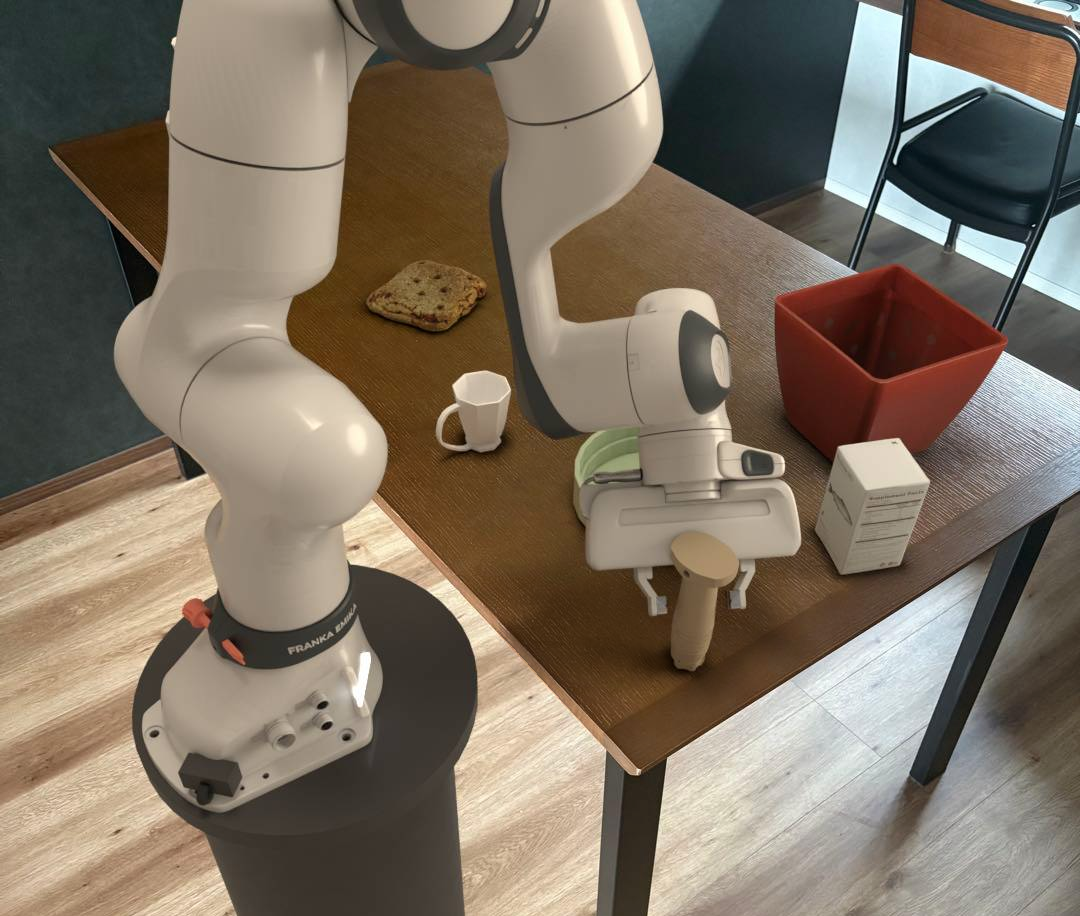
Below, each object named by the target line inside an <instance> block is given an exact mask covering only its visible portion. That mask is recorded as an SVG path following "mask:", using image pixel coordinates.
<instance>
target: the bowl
mask: <svg viewBox="0 0 1080 916" xmlns="http://www.w3.org/2000/svg"><path fill="white" fill-rule="evenodd" d="M638 428H639V427H633V428H624V429H615V430H606V431H598V432H593V433H592V434H590V436H589V437H588V438H587V439H586V440H585V442H584V443H582V444H581V446H580V448H579V450H578V452H577V455H576V457H575V459H574V470H573V471H574V472H573V473H574V474H573V489H572V490H573V493H572V494H573V495H572V504H573V506H574V507H573V508H574V509H575V512H576V515H577V518H578V519H579V521H580V522H581V523H582V524H583V525H584V527H585V528H586V521H587V519H586V518H585V517H584V516H583V514H582V512H581V510H580V501H579V490H580V487H581V485H582V483H583V482H584V481H585V480H586V479H588V478H590V477H593V475H594V473H597V472H617V471H622V470H634V469H640V466H639V451H638V438H637V433H638ZM640 481H641V480H640ZM609 483H620V482H609ZM591 484H596V483H594V481H592V482H590V483H588V484H587V485H591Z"/></svg>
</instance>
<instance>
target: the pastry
mask: <svg viewBox="0 0 1080 916" xmlns="http://www.w3.org/2000/svg"><path fill="white" fill-rule="evenodd" d="M487 286H488V285H487V282H485V281H484V280H483V279H482V278H480V277H479V276H477V275H476V274H474V273H473V274H472V273H471V272H468V271H467V270H464V269H463V268H460V267H457V266H452V265H446V264H443V263H439V262H437V261H433V260H425V259H423V260H417V261H415V262H412V263H410V264H408V265H407V266H406V267H405V268H403V269H402V270H401V271H399V272H398V273H396V275H395V276H394V277H392V278H391V279H390V280H389V281H388V282H387V283H383V285H382V286H380V287H379V288H377V289H376V290H374V291H372V292H371V293H370V294H369V295H368V296H367V299H366V301H365V304H366V306H367V308H368V310H370V311H371V312H372V313H375V314H378V315H380V316H382V317H384V318H386V319H389V320H391V321H392V322H393V321H394V322H399V323H401V324H407V325H408V324H409V325H411V326H413V327H419V329H422V330H425V331H427V332H428V331H429V332H443V331H446V330H448V329H450V328H451V327H452V326H453V325H454V324H455V323H457V322H458V320H459V319H460V318H461V317H464V316H466V315H468V314H469V313H470V312H471V310H472V308H474V307H475V306H476V305H477V300H476V299H477V298H482V297H484V296H485V295H486V288H487Z"/></svg>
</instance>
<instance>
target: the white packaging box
mask: <svg viewBox="0 0 1080 916" xmlns="http://www.w3.org/2000/svg"><path fill="white" fill-rule="evenodd" d="M930 485H931V480H930V479H929V477H928V476H927V475H926V474H925V472H924V471H923V469H922V468H921V466H920V465H919V463H918V462H917V461H916V459H915V458H914V457H913V454H912V455H911V454H910V453H909V451H908V450H907V448H906V447H905V446H904V444H903V443H902V441H901V440H900V438H894V439H885V440H878V441H871V442H864V443H857V444H850V445H843V446H839V447H838V448H837V452H836V456H835V459H834V463H833V462H832V467H831V470H830V474H829V477H828V481H827V485H826V489H825V492H824V495H823V499H822V503H821V506H820V510H819V513H818V517H817V520H816V524H815V527H814V531H815V533H816V535H817V537H818V538H819V539H820V541H821V542H822V544H823V546H824V548H825V550H826V551H827V553H828V555H829V556H830V558H831V560H832V562H833V564H834V566H835V567H836V570H837V571H838V574H839V575H850V574H856V573H862V572H869V571H870V572H871V571H875V570H882V569H887V568H895V567H899V566H900V565H901V563H902V561H903V558H904V554H905V552H906V550H907V547H908V544H909V541H910V539H911V537H912V533H913V530H914V528H915V525H916V523H917V520H918V517H919V514H920V511H921V509H922V506H923V503H924V500H925V499H926V496H927V492H928V490H929V487H930Z"/></svg>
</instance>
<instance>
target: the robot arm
mask: <svg viewBox="0 0 1080 916" xmlns="http://www.w3.org/2000/svg"><path fill="white" fill-rule="evenodd" d="M178 19H179V20H178V25H177V31H176V36H177V37H176V36H175V37H176V43H175V50H174V49H173V50H174V52H173V59H172V68H171V80H170V92H169V93H170V94H169V95H170V96H169V110H170V113H169V135H168V192H167V193H168V194H167V195H168V196H167V199H168V200H167V234H166V242H165V250H164V255H163V261H162V264H161V268H160V272H159V276H158V278H157V283H156V284H155V287H154V289H153V292H152V295H151V296H149V297H148V298H145V299H144V300H142V301H141V302H139V303H138V304H137V305H136V306H135V307H134V308H133V309H132V310H131V311H130V312H129V314H128V315H127V316H126V317H125V318H124V320H123V321H122V323H121V325H120V327H119V329H118V332H117V335H116V338H115V340H114V341H115V342H114V345H113V346H114V347H113V362H114V366H115V367H114V368H115V371H116V373H117V375H118V377H119V379H120V381H121V382H122V384H123V386H124V388H125V389H126V390H127V392H128V394H129V396H130V397H131V398H132V400H133V401H134V403H135V405H136V406H137V407H138V408H139V410H140V411H141V413H142V414H143V416H144V417H145V418H146V419H147V420H148V421H149V422H150V423H151V424H152V425H154V426H155V427H156V428H157V429H159V430H160V431H161V432H162V433H163V434H165V435H166V436H167V437H168V438H169V439H171V440H172V441H173V442H174V443H176V444H177V445H178V446H179V447H180V448H182V449H183V451H185V452H186V453H187V454H188V455H190V457H191V458H192V459H193V460H194V461H195V462H196V463H197V464H198V465H199V466H200V467H201V468H202V469H203V471H204V472H205V474H207V476H208V478H209V479H210V480H211V481H212V483H213V484H214V486H215V487H216V489H217V491H218V493H219V496H220V499H219V500H218V501H217V503H216V504H215V505H214V506H213V507H212V509H211V510H210V512H208V513H209V514H208V515H207V518H206V519H205V520H206V521H205V524H204V529H203V530H204V531H203V535H204V536H203V538H204V543H205V546H206V549H207V554H208V557H209V560H210V563H211V564H210V565H211V567H212V571H213V574H214V579H215V582H216V585H217V589H216V592H215V594H216V596H215V600H214V605H213V610H212V611H211V610H210V609H208V608H207V607H206V605H205V604H204V602H203V600H202V599H201V598H198V597H194V598H191V599H189V600H188V601H186V602H185V603H184V605H183V607H182V608H181V615H182V617H185V618H186V619H187V620H189V621H190V622H191V624H192V626H193V627H195V628H202V627H205V629H204V630H203V631H202V633H201V634H200V635H199V636H198V638H197V639H196V640H195V641H194V642H193V643H192V645H191V646H190V647H189V648H188V649H187V651H186V652H185V653H184V654H183V655H182V657H181V658H180V659H179V660H178V661H177V662H176V664H175V665H174V666H173V667H172V668H171V669H170V670H169V671H168V673H167V674H166V675H165V677H164V679H163V682H162V687H161V699H160V700H159V701H157V702H156V703H155V704H154V705H153V706H151V707H150V708H149V709H148V710H147V711H146V712H145V713H144V715H143V720H142V733H143V738H144V743H145V747H146V749H147V752H148V754H149V757H150V758H151V760H152V762H153V764H154V766H155V767H156V768H157V770H158V771H159V773H160V774H161V775H162V777H163V778H164V779H165V780H166V781H167V783H168V784H169V785H170V786H171V787H172V788H173V789H174V790H175V791H176V792H177V793H178V794H179V795H181V796H182V797H183V798H185V799H186V800H187V801H189V802H190V803H192V804H194V805H196V806H198V807H200V808H203V809H205V810H208V811H212V812H217V813H223V812H226V811H229V810H231V809H233V808H235V807H237V806H240V805H242V804H244V803H246V802H248V801H250V800H252V799H254V798H256V797H259V796H261V795H263V794H265V793H267V792H269V791H271V790H273V789H275V788H278V787H280V786H282V785H284V784H286V783H288V782H290V781H292V780H294V779H297V778H299V777H301V776H303V775H305V774H307V773H309V772H311V771H313V770H316V769H318V768H320V767H322V766H324V765H326V764H328V763H330V762H332V761H335V760H337V759H339V758H341V757H343V756H345V755H347V754H349V753H351V752H354V751H356V750H358V749H360V748H362V747H364V746H366V745H367V744H368V743H369V742H370V741H371V739H372V736H373V720H372V714H373V711H374V708H375V706H376V703H377V701H378V699H379V696H380V693H381V689H382V683H383V673H382V667H381V664H380V661H379V659H378V657H377V655H376V654H375V652H374V651H373V649H372V648H371V646H370V645H369V643H368V641H367V639H366V637H365V634H364V632H363V629H362V626H361V624H360V620H359V617H358V610H359V598H358V592H357V586H356V582H355V577H354V572H353V569H352V566H351V564H352V563H350V560H349V559H348V556H347V548H346V542H345V541H346V540H345V535H344V526H343V525H344V523H347V522H348V521H349V520H351V519H353V518H354V517H356V516H357V515H358V514H359V513H361V512H362V510H364V509H365V508H366V507H367V506H368V504H370V502H371V500H373V498H374V497H375V495H376V493H377V492H378V490H379V488H380V486H381V483H382V481H383V479H384V475H385V472H386V469H387V465H388V456H389V455H388V454H389V447H388V446H389V445H388V440H387V436H386V432H385V431H384V429H383V427H382V426H381V424H380V423H379V422H378V420H376V418H375V417H374V416H373V414H371V412H370V411H369V410H368V409H367V407H366V406H365V405H364V404H363V402H362V401H361V400H360V399H359V398H358V397H357V396H356V395H355V394H354V392H352V390H350V388H349V387H348V386H347V385H346V384H345V383H344V382H343V381H341V380H339V379H338V378H337V377H335V376H333V375H332V374H331V373H329V372H328V371H326V370H325V369H323V368H322V367H321V366H320V365H318V364H316V363H315V362H314V361H313V360H311V359H309V358H308V357H307V356H305V355H303V353H301V352H299V351H298V350H297V349H295V348H294V347H293V346H292V344H291V341H290V339H289V335H288V330H287V320H288V314H289V311H290V307H291V304H292V301H293V300H294V297H296V296H298V295H301V294H303V293H305V292H307V291H308V290H311V289H312V288H314V287H315V286H316V285H318V284H319V283H321V282H322V281H323V280H324V279H325V278H326V277H328V275H329V273H330V272H331V270H332V269H333V267H334V266H335V265H334V264H335V262H336V259H337V254H338V241H339V230H340V222H341V221H340V219H341V209H342V197H343V188H344V177H345V164H346V154H347V142H348V141H347V140H348V127H349V126H348V125H349V124H348V122H349V103H351V101H352V97H353V93H354V89H355V86H356V83H357V81H358V78H359V76H360V74H361V72H362V70H363V69H364V67H365V65H366V63H367V62H368V60H370V58H371V57H372V55H373V54H375V52H376V51H378V49H379V47H380V48H381V49H382V50H383V51H385V52H386V53H387V54H388V55H390V56H391V57H393V58H395V59H396V60H398V61H401V62H402V63H404V64H406V65H408V66H409V65H410V66H412V67H415V68H419V69H423V70H429V71H440V72H446V71H447V72H448V71H458V70H464V69H468V68H472V67H476V66H479V65H482V64H486V66H487V68H488V70H489V71H490V73H491V77H492V81H493V84H494V88H495V91H496V94H497V97H498V100H499V103H500V107H501V110H502V113H503V116H504V119H505V123H506V127H507V134H508V150H507V155H506V159H505V160H504V161H503V162H502V163H500V164H499V165H498V166H497V167H496V168H495V169H494V171H493V173H492V177H491V181H490V186H489V194H488V215H489V226H490V234H491V240H492V241H491V242H492V248H493V253H494V260H495V267H496V272H497V276H498V282H499V286H500V287H499V288H500V293H501V298H502V304H503V309H504V314H505V319H506V325H507V330H508V336H509V341H510V346H511V355H512V367H513V368H512V369H513V379H514V380H513V381H514V389H515V391H514V392H515V397H516V402H517V406H518V410H519V412H520V415H521V416H522V418H523V419H524V420H525V421H526V422H527V423H528V424H529V425H530V426H531V427H532V428H534V429H535V430H537V431H538V432H540V433H541V434H543V435H544V436H546V437H547V438H549V439H551V440H553V441H561V440H566V439H570V438H571V439H572V438H577V437H581V436H585V435H592V434H594V433H596V432H598V431H606V430H615V429H624V428H633V427H639V428H638V433H637V438H638V451H639V466H640V469H634V470H622V471H617V472H597V473H594V475H593V477H590V478H588V479H586V480H585V481H584V482H583V483H582V485H581V487H580V490H579V501H580V510H581V512H582V514H583V516H584V517H585V518H586V519H587V521H586V527H585V536H584V552H585V561H586V563H587V564H588V566H589V567H590V568H591V569H592V570H593V571H610V570H624V569H633V580H634V581H635V583H636V584H637V586H638V587H639V589H640V590H641V592H642V593H643V594H644V596H645V598H647V612H648V615H649V617H658V616H667V615H668V607H667V603H668V602H667V596H666V595H657V593H656V592H655V590H654V589H653V587H652V585H651V584H650V582H649V581H648V580H652V579H653V577H654V575H653V567H660V566H661V567H663V566H664V567H665V566H674V564H673V562H672V560H671V558H670V550H671V545H672V542H673V541H674V540H675V539H676V538H677V537H678V536H680V535H681V534H684V533H686V532H690V531H696V532H700V533H704V534H707V535H710V536H713V537H715V538H717V539H718V540H720V541H721V542H723V543H724V544H726V545H727V546H728V547H730V548H731V549H732V551H733V552H734V553H735V555H736V557H737V558H738V560H739V568H738V572H737V573H739V575H738V577H737V580H736V582H735V585H734V586H733V589H729V590H724V593H725V594H724V595H725V599H726V601H725V607H726V609H727V610H732V611H733V610H744V609H745V610H746V608H747V598H746V597H747V596H746V591H747V589H748V587H749V585H750V584H751V582H752V579H753V577H754V575H755V573H756V561H755V559H767V558H768V559H769V558H781V557H793V556H795V555H796V553H797V552H798V551H799V550H800V548H801V545H802V533H801V524H800V519H799V513H798V508H797V503H796V498H795V495H794V492H793V490H792V488H791V487H790V486H789V484H788V483H787V482H785V481H784V480H782V479H780V477H782V476H783V475H784V474H785V470H786V464H785V463H786V461H785V457H783V456H782V455H781V454H780V453H776V452H774V451H773V452H772V451H769V450H765V449H760V448H756V447H752V446H748V445H745V444H741V443H738V442H737V443H736V442H734V441H733V432H732V425H731V422H730V420H729V418H728V414H727V410H726V409H727V408H726V399H727V397H728V396H729V395H730V393H731V392H732V390H733V372H732V360H731V348H730V347H731V346H730V342H729V339H728V335H726V333H725V332H723V330H721V324H720V320H719V315H718V311H717V307H716V303H715V301H714V299H713V298H712V296H711V295H709V294H708V293H706V292H704V291H702V290H699V289H697V288H691V287H685V286H683V287H682V286H678V287H677V286H676V287H675V286H673V287H666V288H661V289H657V290H654V291H650V292H648V293H646V294H645V295H643V296H642V297H641V298H640V299H638V301H637V302H636V305H635V308H634V315H632V316H630V315H629V316H625V317H617V318H611V319H604V320H603V319H602V320H597V321H590V322H573V321H570V320H567V319H565V318H563V317H562V316H561V315H560V310H559V303H558V297H557V289H556V282H555V274H554V268H553V261H552V260H553V259H552V255H551V254H552V253H551V249H552V247H553V246H554V245H555V244H556V243H558V241H560V240H561V239H562V238H563V237H564V236H567V235H568V234H569V233H570V232H572V231H573V230H574V229H576V228H578V227H580V225H582V224H585V223H586V222H587V221H589V220H591V219H593V218H595V217H596V216H598V215H600V214H602V213H604V212H605V211H607V210H609V209H611V208H612V207H613V206H615V205H616V204H617V203H618V202H620V201H621V200H622V199H623V198H624V197H626V196H627V195H628V194H629V193H630V192H631V191H632V190H633V189H634V188H635V187H636V186H637V185H638V184H639V182H640V181H641V180H642V178H643V177H644V176H645V175H646V173H647V172H648V170H649V169H650V167H651V166H652V164H653V162H654V161H655V158H656V156H657V154H658V151H659V148H660V145H661V142H662V138H663V134H664V116H663V106H662V105H663V104H662V97H661V90H660V85H659V84H660V83H659V79H658V75H657V70H656V65H655V61H654V55H653V53H652V49H651V45H650V41H649V38H648V33H647V31H646V26H645V23H644V20H643V16H642V13H641V11H640V7H639V5H638V2H637V0H182V4H181V10H180V13H179V18H178ZM640 480H641V481H640ZM592 481H594V483H596V484H591V485H587V484H588V483H590V482H592ZM609 482H620V483H609ZM154 735H158V736H157V737H155V738H152V737H153V736H154ZM345 738H350V740H348V741H343V740H344V739H345Z"/></svg>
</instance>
